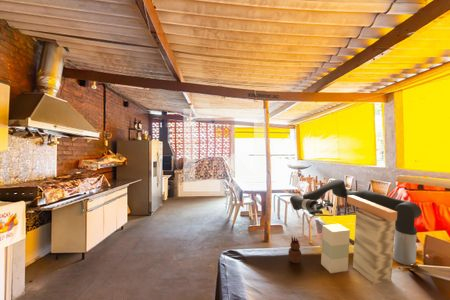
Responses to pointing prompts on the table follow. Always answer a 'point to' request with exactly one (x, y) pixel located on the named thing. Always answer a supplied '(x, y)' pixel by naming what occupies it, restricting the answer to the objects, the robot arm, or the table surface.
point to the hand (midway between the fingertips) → (327, 208)
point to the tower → (335, 248)
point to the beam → (372, 208)
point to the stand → (373, 246)
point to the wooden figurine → (294, 251)
